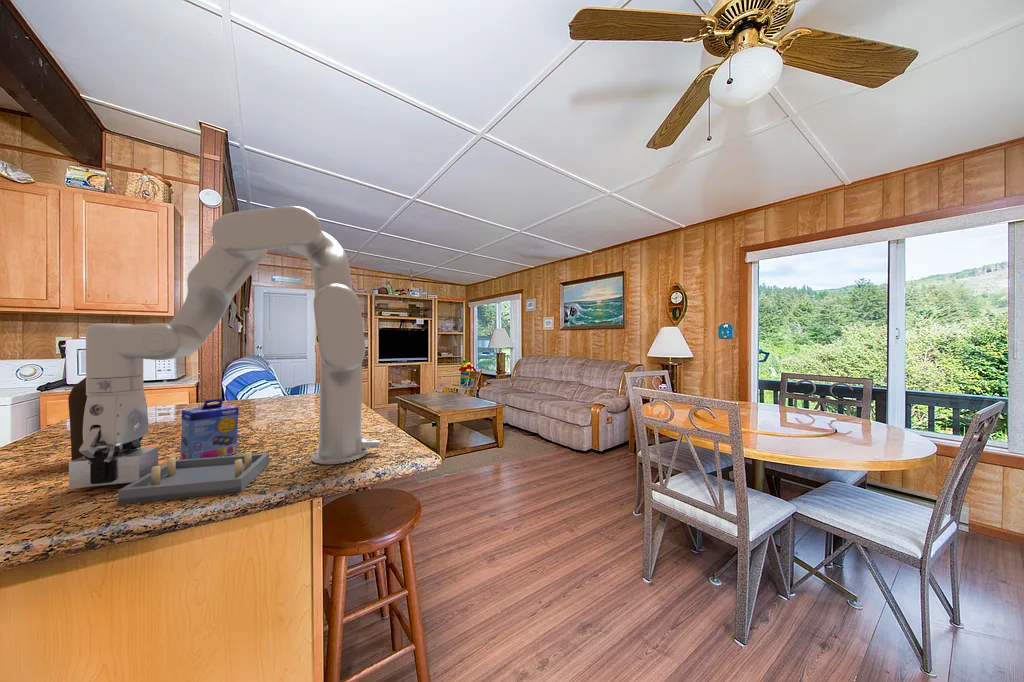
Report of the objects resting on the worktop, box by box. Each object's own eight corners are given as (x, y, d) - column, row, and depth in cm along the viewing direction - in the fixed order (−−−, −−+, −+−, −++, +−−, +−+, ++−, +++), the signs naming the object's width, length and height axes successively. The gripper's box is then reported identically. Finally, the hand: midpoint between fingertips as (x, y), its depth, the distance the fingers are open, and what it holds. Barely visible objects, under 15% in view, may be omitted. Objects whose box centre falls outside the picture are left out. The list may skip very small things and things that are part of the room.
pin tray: (269, 463, 82) (269, 444, 82) (241, 491, 67) (241, 468, 67) (172, 471, 76) (172, 451, 76) (117, 504, 61) (118, 479, 61)
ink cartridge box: (188, 465, 80) (190, 402, 80) (178, 461, 82) (179, 400, 82) (239, 453, 88) (240, 396, 88) (228, 450, 91) (229, 395, 91)
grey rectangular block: (158, 470, 74) (158, 446, 74) (139, 481, 68) (138, 455, 68) (94, 476, 70) (94, 451, 70) (69, 488, 64) (68, 461, 64)
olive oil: (147, 455, 86) (149, 354, 86) (86, 471, 75) (88, 356, 75) (118, 451, 88) (120, 353, 88) (54, 465, 78) (56, 354, 78)
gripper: (107, 391, 62) (107, 491, 62) (166, 380, 78) (166, 459, 78) (49, 393, 60) (49, 497, 60) (123, 381, 76) (123, 463, 76)
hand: (116, 475), depth 69 cm, fingers closed on grey rectangular block, 6 cm apart
